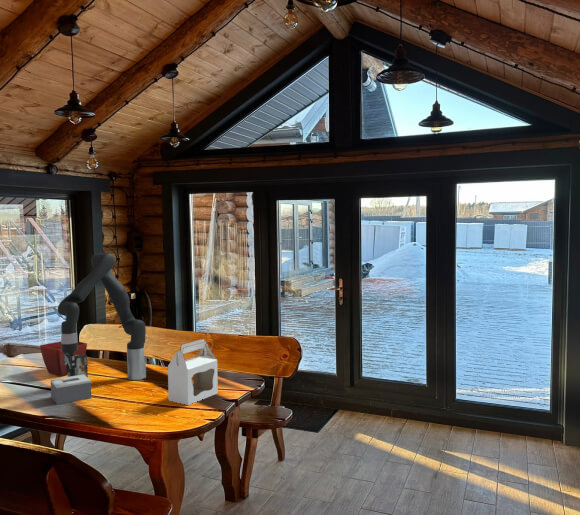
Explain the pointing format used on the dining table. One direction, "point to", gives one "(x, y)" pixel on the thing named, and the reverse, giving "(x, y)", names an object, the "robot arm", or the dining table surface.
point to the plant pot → (58, 357)
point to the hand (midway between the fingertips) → (70, 374)
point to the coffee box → (81, 365)
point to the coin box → (70, 389)
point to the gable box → (185, 369)
